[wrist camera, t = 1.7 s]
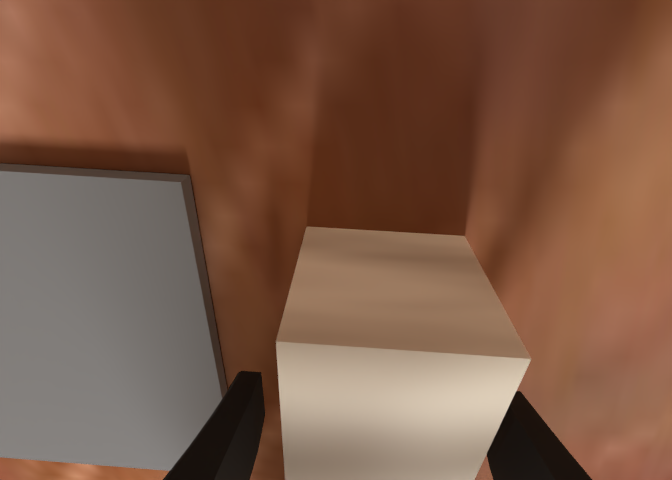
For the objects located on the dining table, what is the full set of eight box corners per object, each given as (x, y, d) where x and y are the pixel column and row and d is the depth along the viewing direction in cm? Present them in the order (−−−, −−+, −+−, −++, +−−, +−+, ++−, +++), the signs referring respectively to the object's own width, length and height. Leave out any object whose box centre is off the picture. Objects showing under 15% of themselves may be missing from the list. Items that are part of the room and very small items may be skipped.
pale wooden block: (418, 407, 16) (441, 548, 11) (307, 399, 16) (288, 536, 11) (463, 233, 11) (531, 359, 7) (307, 224, 11) (275, 341, 7)
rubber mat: (240, 463, 18) (236, 475, 18) (-54, 440, 19) (-66, 451, 18) (189, 175, 10) (181, 182, 10) (-327, 143, 11) (-362, 148, 10)
